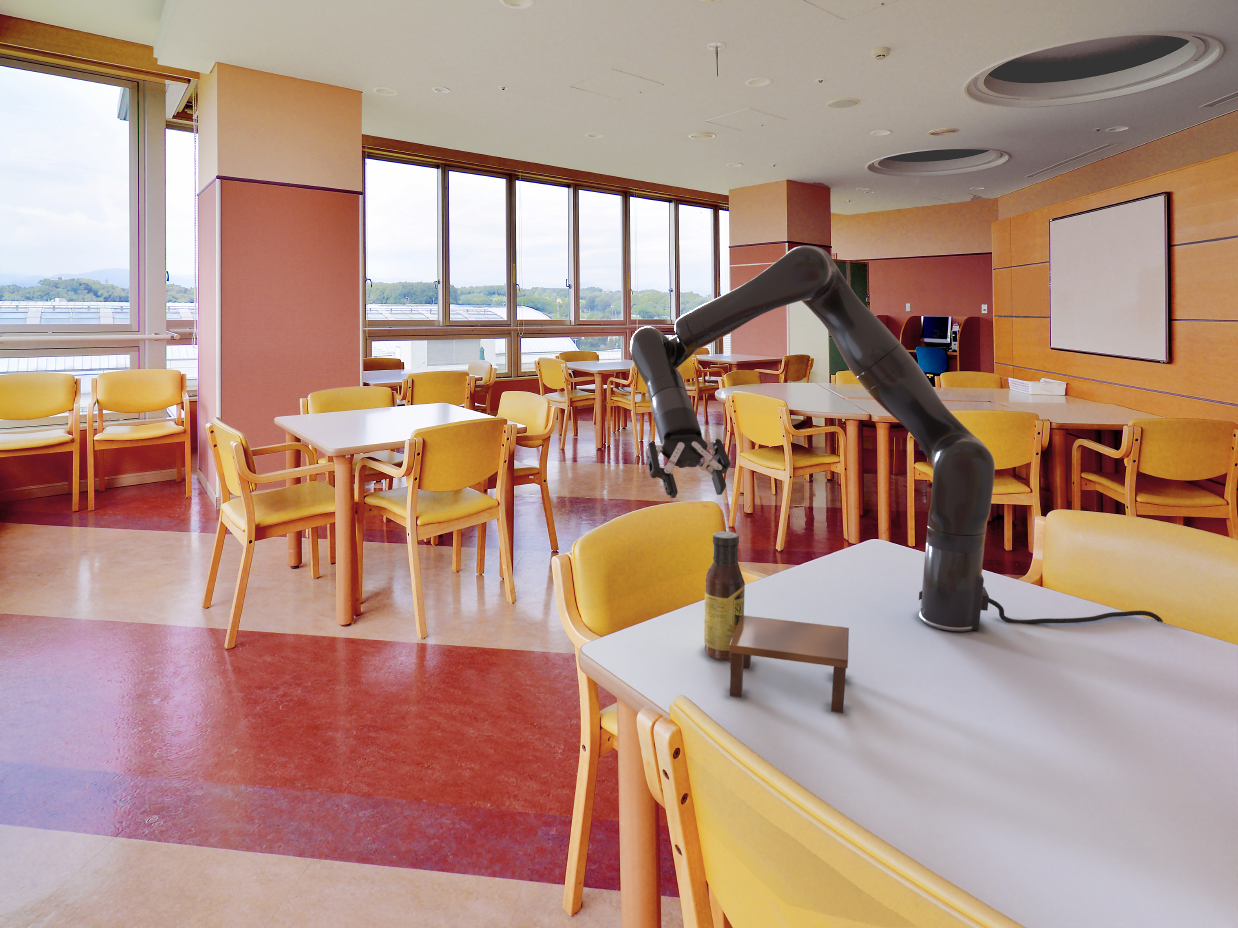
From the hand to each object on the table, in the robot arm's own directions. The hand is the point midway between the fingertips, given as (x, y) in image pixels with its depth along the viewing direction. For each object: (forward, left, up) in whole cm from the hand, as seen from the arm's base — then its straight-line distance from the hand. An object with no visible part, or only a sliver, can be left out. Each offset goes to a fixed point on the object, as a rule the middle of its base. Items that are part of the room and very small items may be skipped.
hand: (698, 494), depth 124 cm
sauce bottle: (-7, +10, -24) cm, 27 cm away
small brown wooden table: (-18, +18, -24) cm, 34 cm away
